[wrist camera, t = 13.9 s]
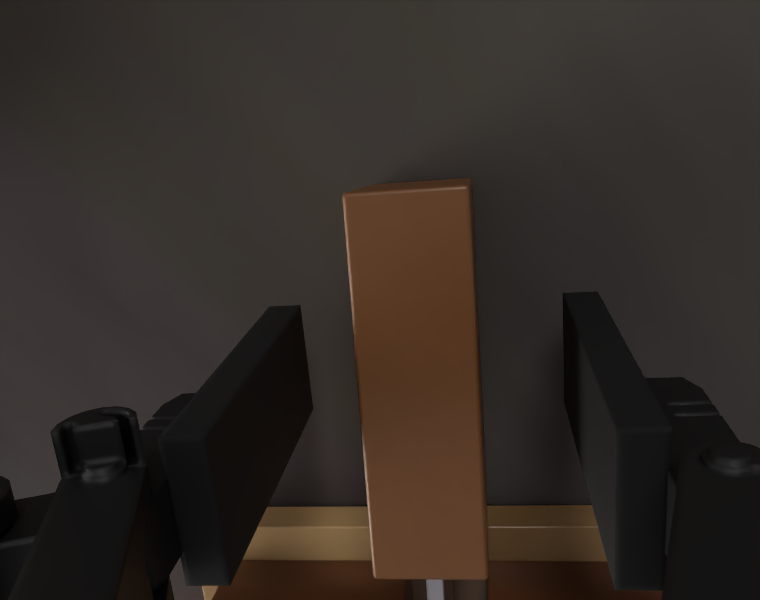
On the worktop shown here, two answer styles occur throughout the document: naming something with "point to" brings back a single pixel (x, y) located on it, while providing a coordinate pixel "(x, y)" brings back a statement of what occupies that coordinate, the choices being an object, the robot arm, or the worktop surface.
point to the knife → (419, 379)
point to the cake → (409, 596)
